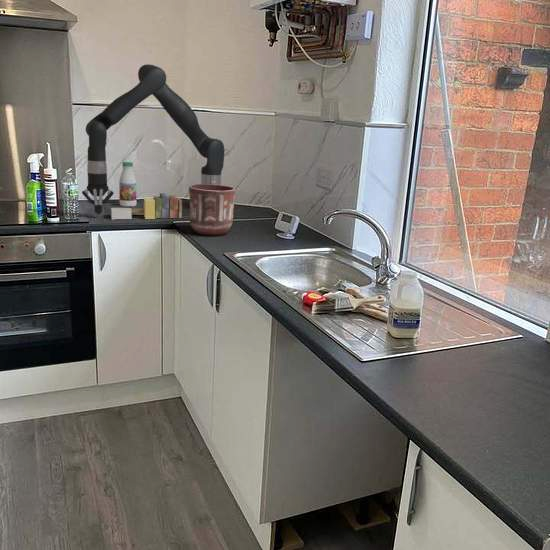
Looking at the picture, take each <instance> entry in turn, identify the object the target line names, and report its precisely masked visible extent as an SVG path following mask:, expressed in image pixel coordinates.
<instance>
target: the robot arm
mask: <svg viewBox="0 0 550 550" xmlns="http://www.w3.org/2000/svg"><path fill="white" fill-rule="evenodd" d="M137 76H138V80H139V82H138V84H137V85H135V86H134V87H133V88H131V89H130V90H129V91H127V92H125V93H123V94H122V95H120V96H118V97H117V98H115V99H114V100H113V101H112V102H111V103H110V104H109V105H107V107H105V109H104V110H102V111H101V112H100V113H99V114H97V115H96V116H95V117H93V118H92V119H90V121H88V123H87V124H86V126H85V132H86V134H87V136H88V148H87V166H86V167H87V168H86V171H87V186H86V189H84V190H82V191H81V194H82V195H83V196H84V197H85V199H86V200H87V201H88V202H89V203H90V204H91V205H94V213H95V214H96V215H101V214H102V212H103V205H106V204H107V203H108V201H109V200H110V199H111V198H112V196H113V195H114V191H113V190H111V189H110V188H109V186H108V168H107V156H106V155H107V153H106V147H107V137H108V133H107V131H108V130H109V129H110V128H111V127H112V126H115V125H117V124H118V123H120V121H121V120H122V119H123V118H125V117H126V115H127V114H129V113H130V112H131V111H132V110H133V109H135V108H136V107H138V105H140V104H141V103H142V102H144V101H145V100H146V99H148V98H149V97H150V96H153V97H154V98H155V99H156V100H157V101H158V102H159V104H160V105H161V107H162V108H163V109H164V111H165V112H166V113H167V114H168V116H169V117H170V118H171V119H172V121H173V122H174V123H175V124H176V125H177V127H179V128H180V130H182V132H183V133H184V134H185V136H187V138H188V139H189V140H190V142H191V143H192V145H194V147H195V149H196V150H197V152H198V153H199V154H200V155H201V156H202V157H203V158H205V159H206V164H205V165H204V166H202V167H201V170H200V184H216V185H222V170H223V168H224V165H225V163H224V162H225V161H224V160H225V145H224V142H223V141H222V140H220V139H217V138H212V137H209V136H208V135H207V134H206V133H205V132H204V131H203V130H202V128H201V127H200V124H199V119H198V116H197V114H196V112H195V111H194V110H193V109H192V107H191V106H190V105H189V104H188V103H187V101H185V100H184V98H182V97H181V96H180V95H179V94H177V93H176V92H175V91H174V90H173V89H172V88H170V86H169V85H168V84H167V74H166V72H165V70H164V69H162V68H161V67H159V66H157V65H153V64H150V63H149V64H148V63H146V64H144V65H141V66H140V68H139V69H138V72H137ZM106 193H107V195H106ZM89 194H90V195H91V196H92V197H93V199H92V198H91V197H90V196H89ZM105 195H106V196H105ZM104 196H105V197H104ZM103 198H104V199H103Z"/></svg>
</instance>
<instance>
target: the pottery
mask: <svg viewBox="0 0 550 550" xmlns="http://www.w3.org/2000/svg"><path fill="white" fill-rule="evenodd" d="M236 190H237V189H236V188H234V187H233V186H230V185H225V184H221V185H216V184H201V183H196V184H194V183H193V184H191V185H189V187H188V194H189V222H190V226H191V228H192V229H193V230H194V232H195V233H196V234H199V235H202V236H208V237H209V236H210V237H211V236H212V237H214V236H224V235H225V234H226V233H228V231H229V230H230V229H231V227H232V225H233V221H234V205H235V196H236Z"/></svg>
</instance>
